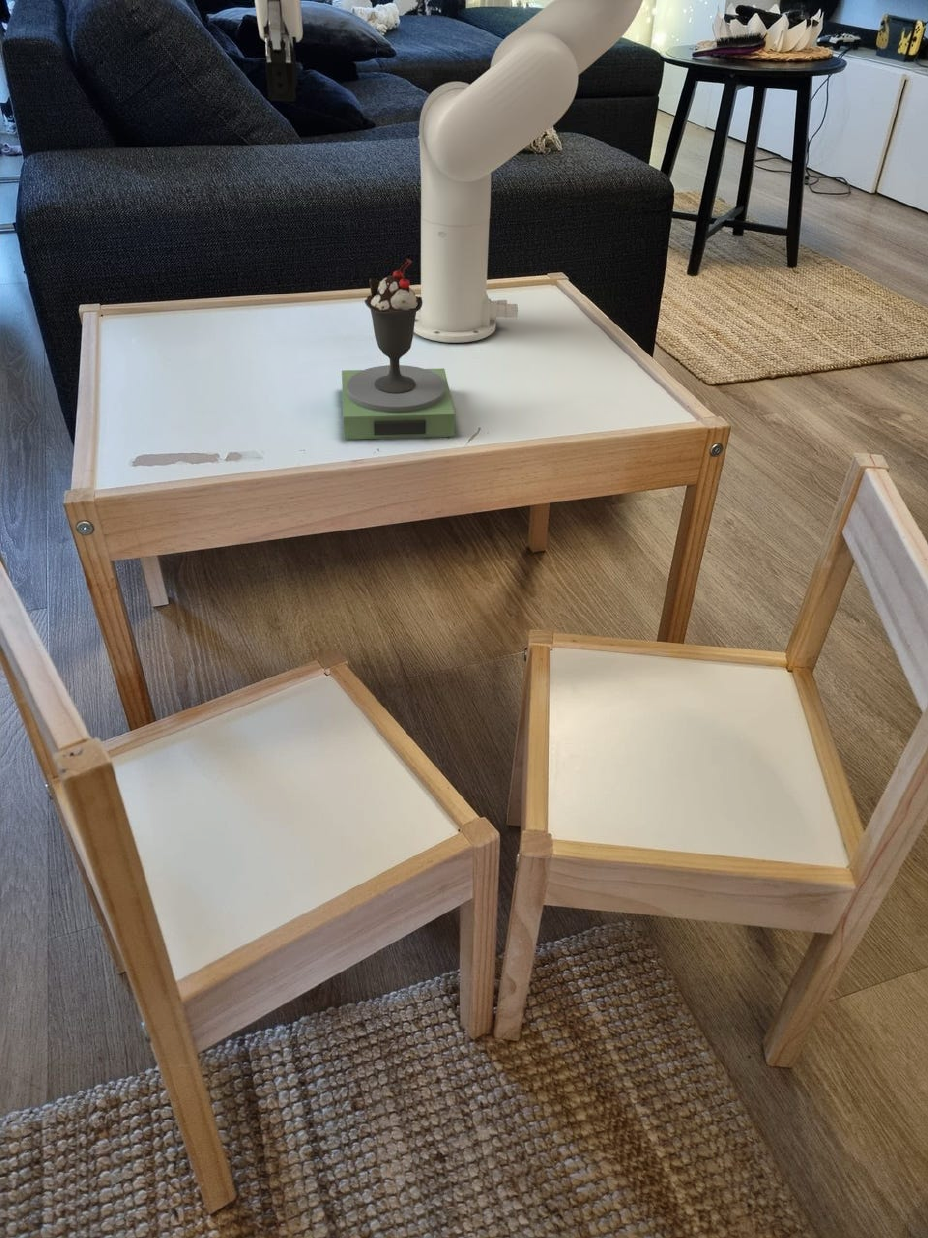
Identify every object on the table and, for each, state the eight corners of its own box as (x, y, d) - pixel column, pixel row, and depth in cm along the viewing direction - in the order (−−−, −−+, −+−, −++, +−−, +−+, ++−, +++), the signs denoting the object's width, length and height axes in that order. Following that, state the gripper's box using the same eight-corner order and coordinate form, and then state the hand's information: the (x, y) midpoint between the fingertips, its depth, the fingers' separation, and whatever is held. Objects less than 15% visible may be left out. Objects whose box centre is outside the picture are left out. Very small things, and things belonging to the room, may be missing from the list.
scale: (443, 390, 119) (444, 362, 117) (455, 438, 109) (456, 409, 106) (343, 392, 118) (341, 364, 115) (344, 441, 107) (343, 411, 105)
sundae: (429, 393, 110) (430, 264, 100) (374, 398, 108) (369, 268, 99) (415, 371, 114) (415, 246, 105) (362, 376, 113) (357, 249, 103)
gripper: (301, -75, 98) (313, 106, 109) (304, -80, 112) (314, 82, 122) (229, -77, 97) (248, 106, 108) (241, -82, 111) (257, 81, 121)
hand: (283, 93), depth 115 cm, fingers open, 9 cm apart
